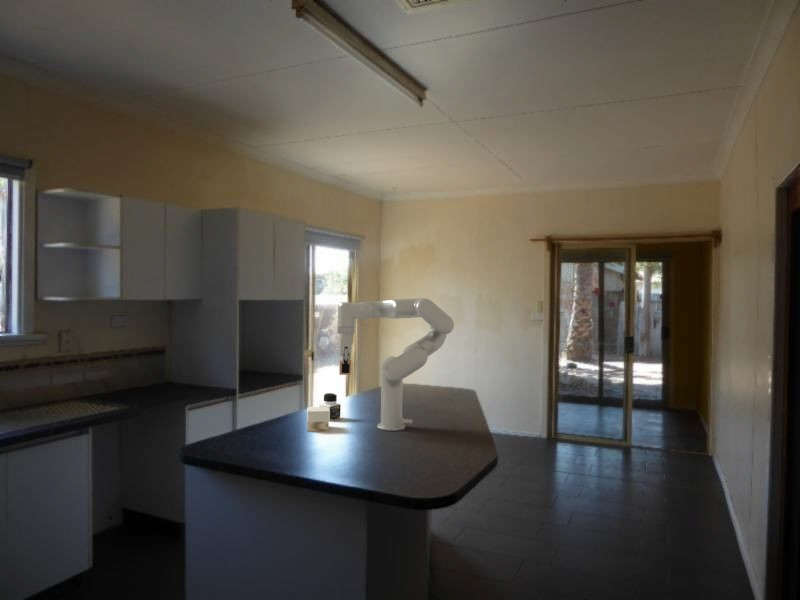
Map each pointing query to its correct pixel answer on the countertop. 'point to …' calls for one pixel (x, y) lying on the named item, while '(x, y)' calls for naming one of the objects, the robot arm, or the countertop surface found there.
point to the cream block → (317, 414)
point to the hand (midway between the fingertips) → (345, 371)
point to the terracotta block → (341, 368)
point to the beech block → (317, 426)
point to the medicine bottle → (331, 406)
